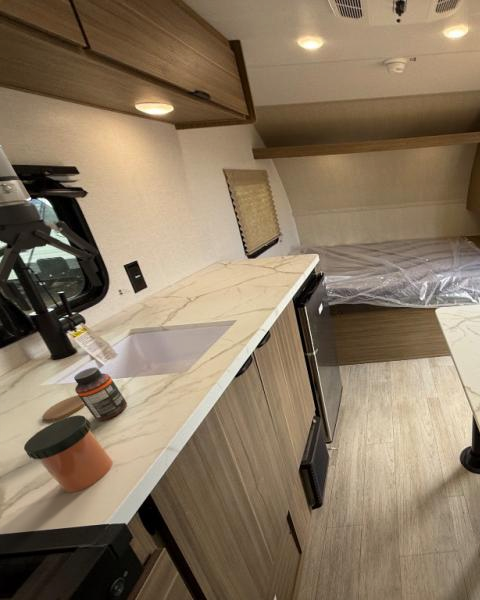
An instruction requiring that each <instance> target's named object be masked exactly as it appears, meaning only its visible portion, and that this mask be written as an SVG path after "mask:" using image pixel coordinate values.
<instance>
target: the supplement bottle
mask: <svg viewBox="0 0 480 600" xmlns="http://www.w3.org/2000/svg"><path fill="white" fill-rule="evenodd" d="M73 379H74V381H75V383H76V386H75V389H74V391H75V393H76V394H77V395H79V397H80V398H81V400H82V401H83V402H84V404H85V407H86V409H87V410H88V411H89V412H90V414H91V415H92V417H93V418H94V419H95V420H96V421H105V420H110V419H112V418H114V417H116V416H118V415H119V414H120V413H122V412H123V411H124V410H125V409H126V407H127V405H128V403H127V401H126V399H125V397H124V396H123V394H122V393H121V392H120V389H119V388H118V386H117V385H116V383H115V382H114V380H113V379H112V377H111V376H110V375H109V374H108V373H102V372H101V371H100V369H99V368H98V367H93V366H92V367H89V368H86V369H84V370H82V371H80V372H78V373H77V374H75V375H74V378H73Z"/></svg>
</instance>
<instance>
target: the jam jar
mask: <svg viewBox="0 0 480 600" xmlns="http://www.w3.org/2000/svg"><path fill="white" fill-rule="evenodd" d="M37 460H38V461H39V463H40V464H41V465H42V466H43V467H44V468H45V469H46V471H47V472H48V473H49V474H50V475H51V476H52V478H53V479H54V480H55V482H57V484H58V485H59V486H60V487H61V488H62V490H63V491H64V492H66V493H76V492H79V491H82V490H85V489H86V488H88V487H90V486H92V485H94V484H95V483H97V482H98V481H99V480H100V479H102V478H103V477H104V476H105V475H106V474H107V473H108V472H109V471H110V469H111V468H112V466H113V459H112V458H111V457H110V455H109V454H108V452H107V451H106V449H105V448H104V447H103V445H102V444H101V443H100V441H99V440H98V439H97V437H96V435H94V433H93V432H92V430H91V429H90V430H89V432H88V433H87V434H86V435H85V436H84V437H83V438H82V439H81V440H80V441H79V442H77V443H76V444H74V445H73V446H71V447H70V448H68V449H66V450H64V451H62V452H60V453H58V454H56V455H53V456H51V457H48V458H44V459H37Z"/></svg>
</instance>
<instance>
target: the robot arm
mask: <svg viewBox="0 0 480 600" xmlns="http://www.w3.org/2000/svg"><path fill="white" fill-rule="evenodd" d="M28 192H29V191H27V189H26V187H25V185H24V184H23V182H22V181H21V179H20V178H19V176H18V175H17V173H16V171H15V170H14V167H13V166H12V164H11V162H10V161H9V158H8V157H7V155H6V154H5V151H4V150H3V146H2V145H1V144H0V242H1V243H4V244H6V246H5V248H4V251H3V252H4V253H3V255H2V257H1V260H0V293H1V294H2V296H3V297H4V298H5V299H7V300H11V299H13V301H14V302H15V303H16V305H17V306H18V308H19V309H20V310H21V311H23V312H30V311H32V310H33V308H32V307H31V305H30V304H29V303H28V301H27V300H26V298H25V297H24V295H23V294H22V291H20V289H19V288H18V286H17V284H16V283H15V282H14V281H9V278H10V275H11V273H12V271H13V269H14V266H15V264H16V261H17V259H18V256H19V255H20V254H21V252H22V251H29V250H33V249H35V248H42V247H46V245H48V246H51V247H53V248H56V249H58V250H60V251H62V252H65V253H67V254H69V255H71V256H73V257H76V258H79V259H80V261H79V264H80V266H81V267H82V269H83V272H84V274H85V275H86V276H87V279H88V280H89V281H90V283H91V285H92V287H101V286H103V283H102V281H101V280H100V278H99V276H98V274H97V272H99V267H98V266H97V264H96V262H95V261H94V260H95V258H96V257H97V256H99V255H100V251H99V250H98V249H96V248H95V247H94V246H93V245H91V244H90V242H89V243H88V242H87V241H86V240H85V239H84V238H82V236H81V237H80V236H79V235H78V234H77V233H76V232H74V230H71V229H70V227H69V226H68V225H67V223H66V222H65V221H63V220H57V221H53V222H52V223H46V221H45V220H44V217H43V215H42V214H41V213H40V211H39V209H38V208H37V206H36V204H34V203H33V202H30V200H32V197H31V196H30V194H29V193H28ZM52 230H53V231H54V232H57V233H59V234H60V235H62V236H63V237H65V238H66V239H67V240H69V241H70V242H71V243H73V244H74V245H75V246H77V247H79V248H80V249H78V248H77V247H75V246H72V245H70V244H68V243H65V242H63V241H61V240H60V239H58V238H56V237H53V236H52V235H51V234H52V232H53V231H52ZM82 250H83V251H82Z"/></svg>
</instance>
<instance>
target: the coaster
mask: <svg viewBox="0 0 480 600" xmlns="http://www.w3.org/2000/svg"><path fill="white" fill-rule="evenodd" d="M84 407H86V405H85V404H84V402H83V401H82V400H81V398H80V397H79V395H78V394H77V395H74V396H70V397H68V398H65V399H63V400H61V401H59V402H57V403H55V404H53V405H52V406H50V407H48V409H46V410H45V411H44V412H43V414H42V418H43V420H44V421H45V422H56V421H59V420H62V419H65V418H68V417H70V416H72V415H73V414H74V413H76V412H78V411H80V410H81V409H83V408H84Z"/></svg>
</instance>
